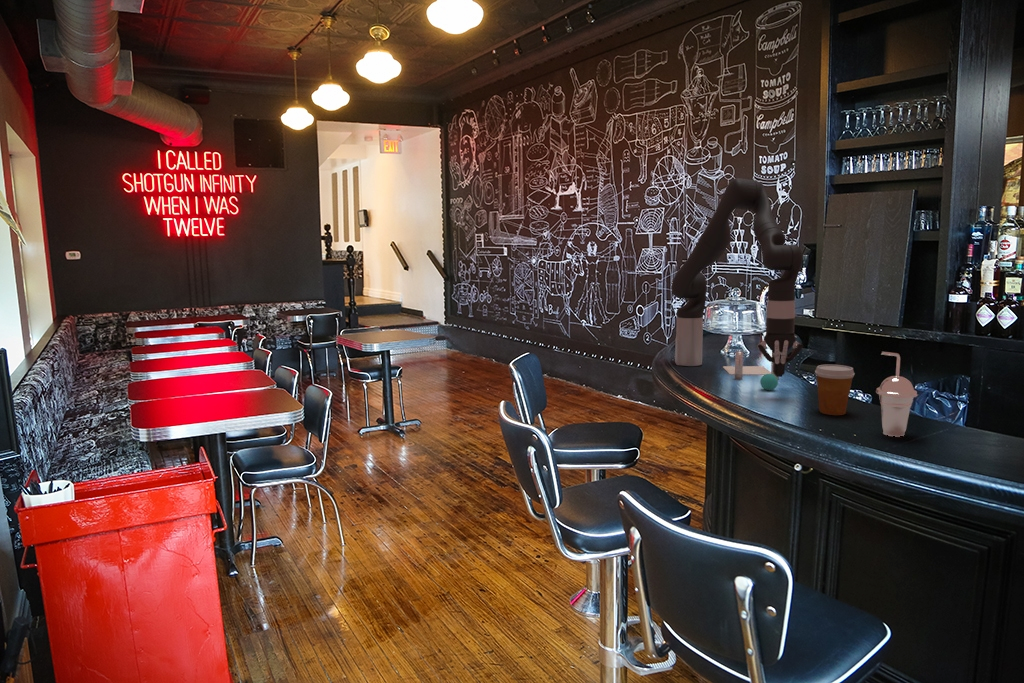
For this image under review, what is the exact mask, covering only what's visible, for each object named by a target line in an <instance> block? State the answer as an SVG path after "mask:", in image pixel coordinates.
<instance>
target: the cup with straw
mask: <svg viewBox="0 0 1024 683" xmlns="http://www.w3.org/2000/svg"><path fill="white" fill-rule="evenodd" d="M879 354H880V355H884V356H889V357H890V356H891V357H893V356H894V357H896V367H895V375H891V376H888V377H886V378H885V379H884V380H883V381H882V382H881V384H880V386H879V387H877V388H876V390H875V393H876V394H877V395H878V396H879V403H880V408H881V409H880V410H881V412H880V413H881V425H882V426H881V427H882V430H883V432H882V434H883V435H885V436H887V435H888V437H893V436H895V438H901V437H900V436H903V437H905V436H906V435H905V432H906V430H907V427H908V421H909V417H910V416H909V415H910V412H911V411H910V410H911V407H912V405H913V402H914V398H916V397H918V391H917V390H916V389H914V386H913V383H912V382H911V381H910V380H909V379H907V378H905V377H904V376H900V371H901V370H900V369H901V356H900V354H899V353H897V352H889V351H881V350H880V351H879ZM904 435H905V436H904Z"/></svg>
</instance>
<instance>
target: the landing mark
mask: <svg viewBox="0 0 1024 683" xmlns="http://www.w3.org/2000/svg"><path fill="white" fill-rule="evenodd" d="M722 368H723V369H724V370H725V371H726V372H727V374H729V375H730V376H731V375H732V376H735V365H734V366H733V365H726V366H725V365H724V366H722ZM765 374H771V370H769V369H768V368H766V367H765V366H762V365H761V366H759V365H758V366H756V365H755V366H753V365H750V366H749V365H748V366H746V365H743V374H742V376H746V375H747V376H748V375H749V376H764V375H765Z"/></svg>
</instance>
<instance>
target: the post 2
mask: <svg viewBox="0 0 1024 683" xmlns="http://www.w3.org/2000/svg"><path fill="white" fill-rule="evenodd" d="M771 357H773V356H772V355H771ZM770 364H771V365H770V366H771V367H770V372H771V374H773V375H774V376H775V374H774V373H773V362H770ZM776 378H777V379H778V381H779V380H780V377H776Z"/></svg>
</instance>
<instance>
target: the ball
mask: <svg viewBox="0 0 1024 683" xmlns="http://www.w3.org/2000/svg"><path fill="white" fill-rule="evenodd" d="M759 383H760V386H761V388H762V389H763V390H767V391H772V390H775V389H776V388H777V387H778V385H779V380H778V379H777V378H776V376H774V375H773V374H765V375H761V378H760V382H759Z"/></svg>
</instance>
